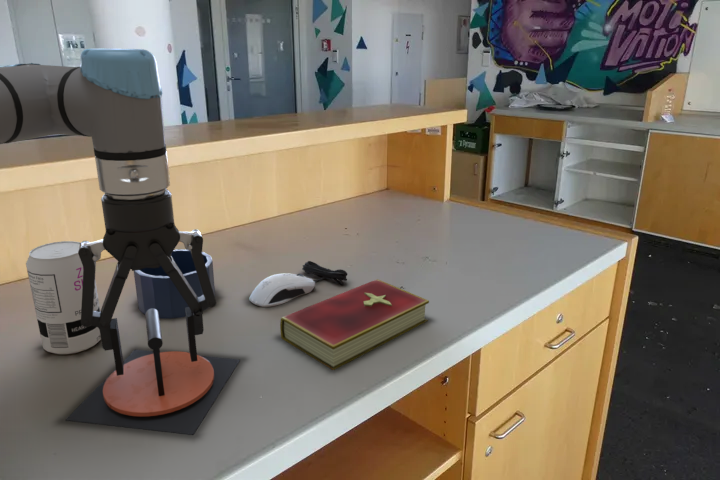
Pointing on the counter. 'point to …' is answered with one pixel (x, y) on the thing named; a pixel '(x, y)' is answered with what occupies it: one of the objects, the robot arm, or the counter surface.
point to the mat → (173, 422)
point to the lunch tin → (169, 285)
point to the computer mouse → (291, 285)
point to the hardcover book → (353, 322)
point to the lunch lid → (158, 379)
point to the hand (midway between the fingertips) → (157, 362)
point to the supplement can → (60, 297)
